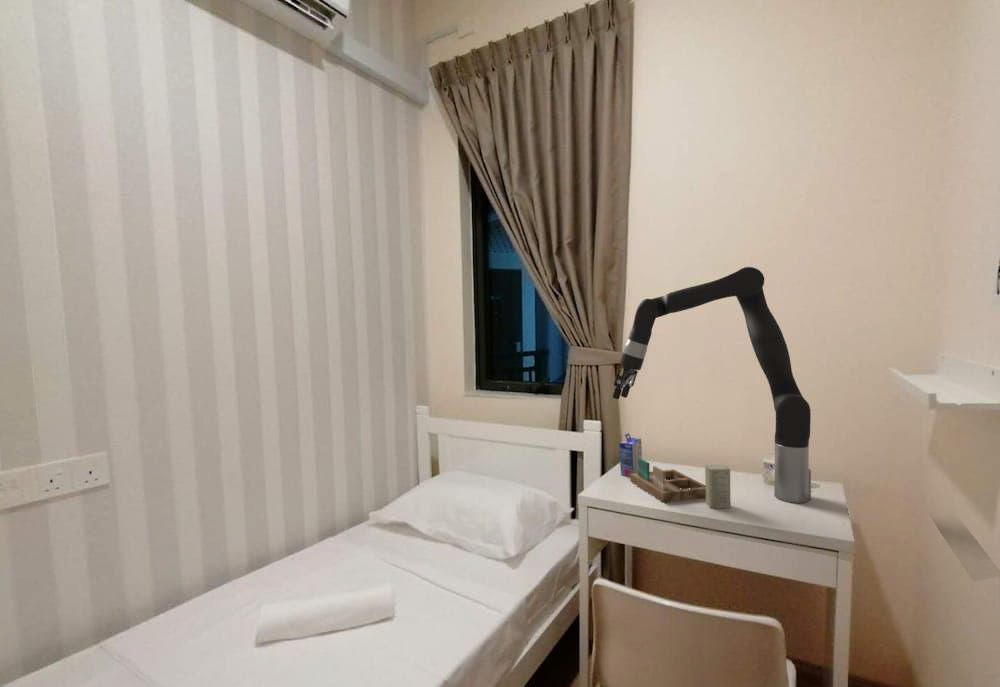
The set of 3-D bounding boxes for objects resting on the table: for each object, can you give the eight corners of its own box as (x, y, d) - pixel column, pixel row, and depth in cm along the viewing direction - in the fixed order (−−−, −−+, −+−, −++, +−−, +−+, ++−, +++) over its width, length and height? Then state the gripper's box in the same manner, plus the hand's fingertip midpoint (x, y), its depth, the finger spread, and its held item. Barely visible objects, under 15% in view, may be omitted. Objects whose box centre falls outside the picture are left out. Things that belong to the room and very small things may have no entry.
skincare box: (725, 503, 151) (725, 464, 151) (731, 508, 147) (731, 469, 146) (704, 502, 152) (704, 464, 151) (709, 508, 147) (709, 468, 147)
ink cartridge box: (628, 468, 189) (628, 430, 188) (642, 470, 186) (642, 432, 185) (619, 474, 181) (619, 436, 180) (633, 477, 178) (633, 438, 177)
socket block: (673, 477, 176) (673, 452, 176) (710, 497, 157) (710, 469, 156) (630, 482, 172) (630, 456, 172) (663, 502, 153) (663, 474, 152)
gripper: (637, 357, 163) (622, 403, 165) (650, 357, 175) (635, 400, 177) (617, 350, 167) (602, 395, 169) (630, 351, 179) (616, 392, 181)
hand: (619, 397), depth 173 cm, fingers open, 8 cm apart
